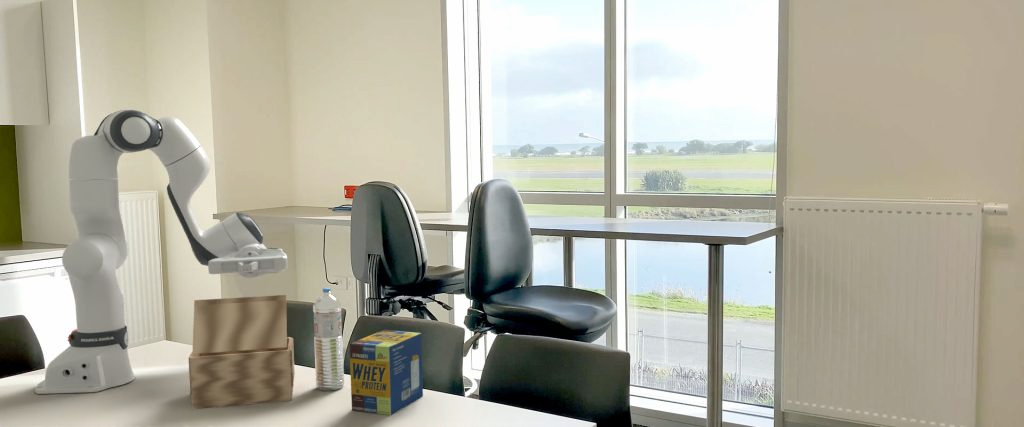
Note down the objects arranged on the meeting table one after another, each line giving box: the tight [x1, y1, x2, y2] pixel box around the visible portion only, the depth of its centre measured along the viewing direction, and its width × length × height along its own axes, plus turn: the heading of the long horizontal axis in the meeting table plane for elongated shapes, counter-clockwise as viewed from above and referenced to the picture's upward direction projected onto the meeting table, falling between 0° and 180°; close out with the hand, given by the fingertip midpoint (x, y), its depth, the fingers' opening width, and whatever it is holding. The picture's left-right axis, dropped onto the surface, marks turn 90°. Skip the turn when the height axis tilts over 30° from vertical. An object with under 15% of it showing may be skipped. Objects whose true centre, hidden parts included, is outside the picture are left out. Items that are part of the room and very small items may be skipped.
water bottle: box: [312, 287, 345, 392], centre depth 194 cm, size 7×7×25 cm
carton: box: [188, 336, 296, 410], centre depth 189 cm, size 23×14×12 cm, turn 104°
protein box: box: [349, 329, 424, 416], centre depth 181 cm, size 10×15×16 cm
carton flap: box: [191, 294, 288, 354], centre depth 185 cm, size 21×13×1 cm
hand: (246, 267), depth 204 cm, fingers closed
